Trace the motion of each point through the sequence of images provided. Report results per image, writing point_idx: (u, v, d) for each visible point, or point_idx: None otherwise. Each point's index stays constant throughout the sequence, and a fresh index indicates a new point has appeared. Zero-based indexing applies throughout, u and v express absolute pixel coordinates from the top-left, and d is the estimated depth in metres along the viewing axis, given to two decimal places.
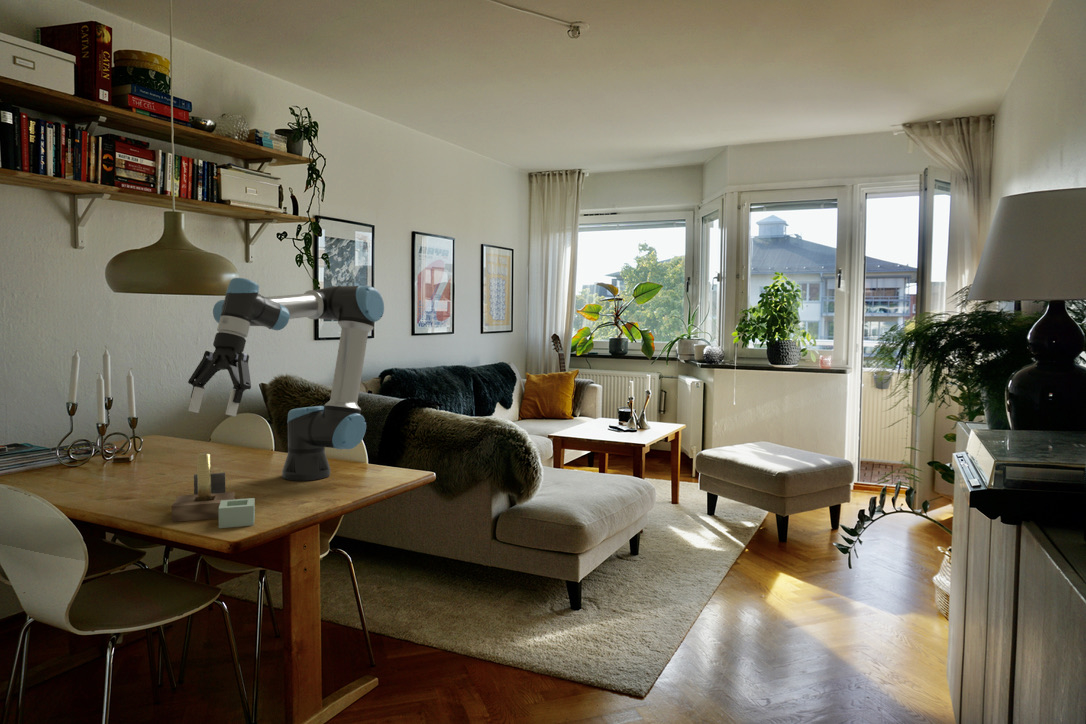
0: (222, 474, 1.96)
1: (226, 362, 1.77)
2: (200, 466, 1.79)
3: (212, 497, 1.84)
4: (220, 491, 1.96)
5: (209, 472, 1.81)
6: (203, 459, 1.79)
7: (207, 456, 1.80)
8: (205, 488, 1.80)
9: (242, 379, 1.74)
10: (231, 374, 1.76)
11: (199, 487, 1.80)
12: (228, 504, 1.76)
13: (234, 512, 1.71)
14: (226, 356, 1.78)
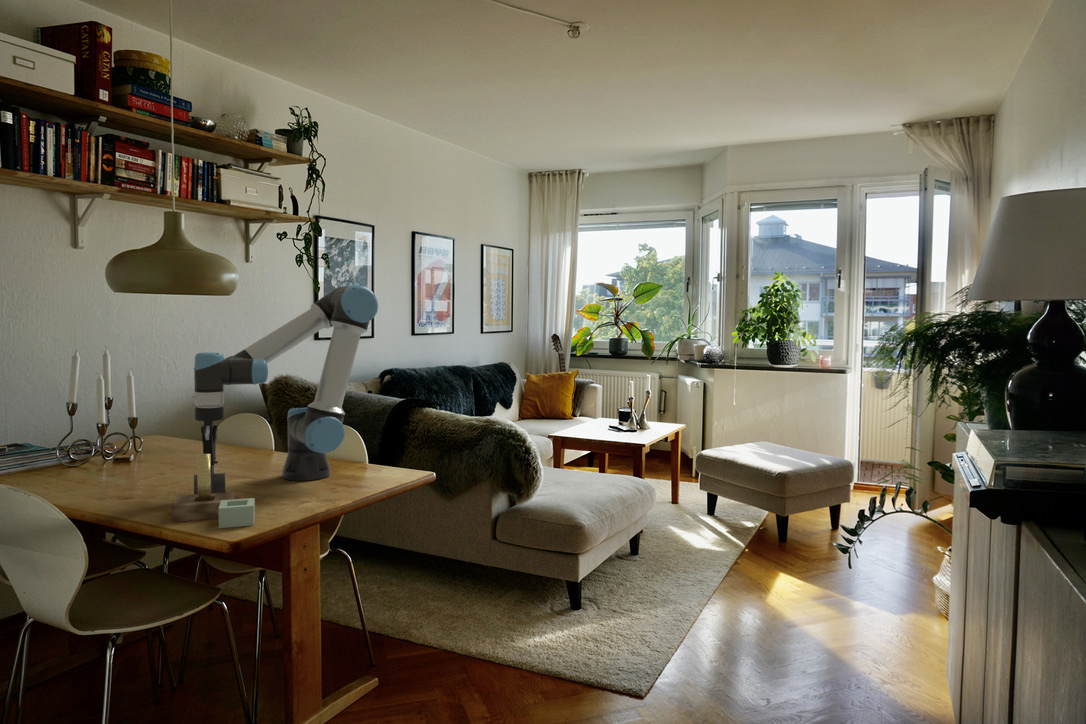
0: (222, 474, 1.96)
1: None
2: (200, 466, 1.79)
3: (212, 497, 1.84)
4: (220, 491, 1.96)
5: (209, 472, 1.81)
6: (203, 459, 1.79)
7: (207, 456, 1.80)
8: (205, 488, 1.80)
9: None
10: None
11: (199, 487, 1.80)
12: (228, 504, 1.76)
13: (234, 512, 1.71)
14: (202, 430, 1.95)
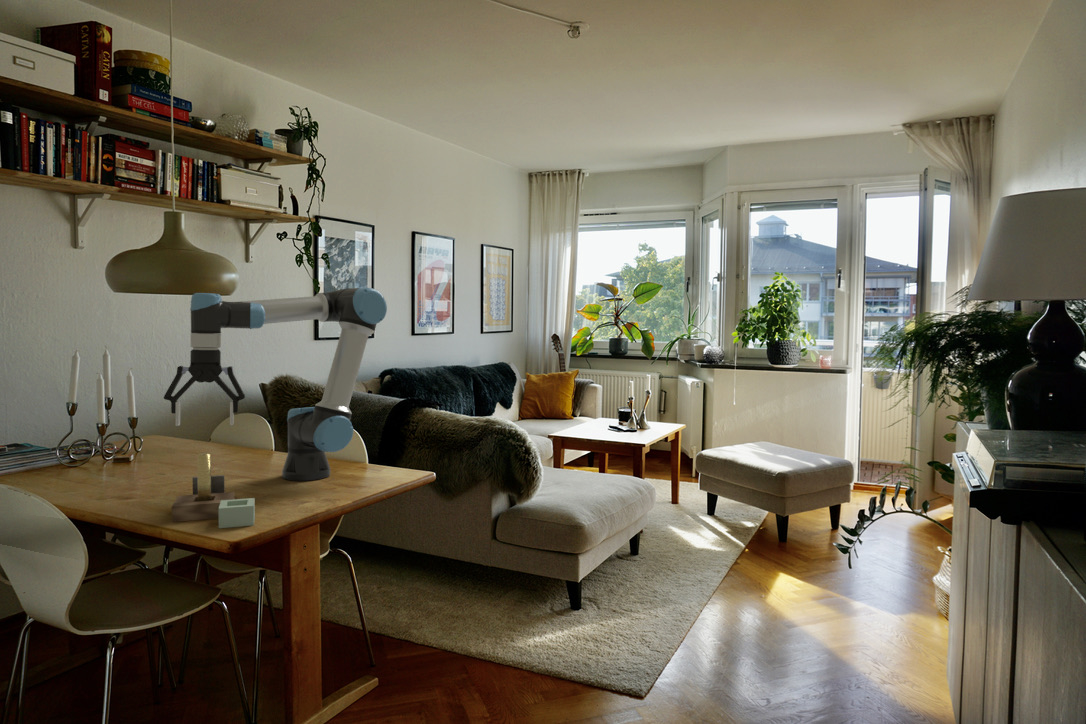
0: (221, 477, 1.93)
1: None
2: (200, 466, 1.79)
3: (212, 497, 1.84)
4: None
5: (209, 472, 1.81)
6: (203, 459, 1.79)
7: (207, 456, 1.80)
8: (205, 488, 1.80)
9: None
10: None
11: (199, 487, 1.80)
12: (228, 504, 1.76)
13: (234, 512, 1.71)
14: None
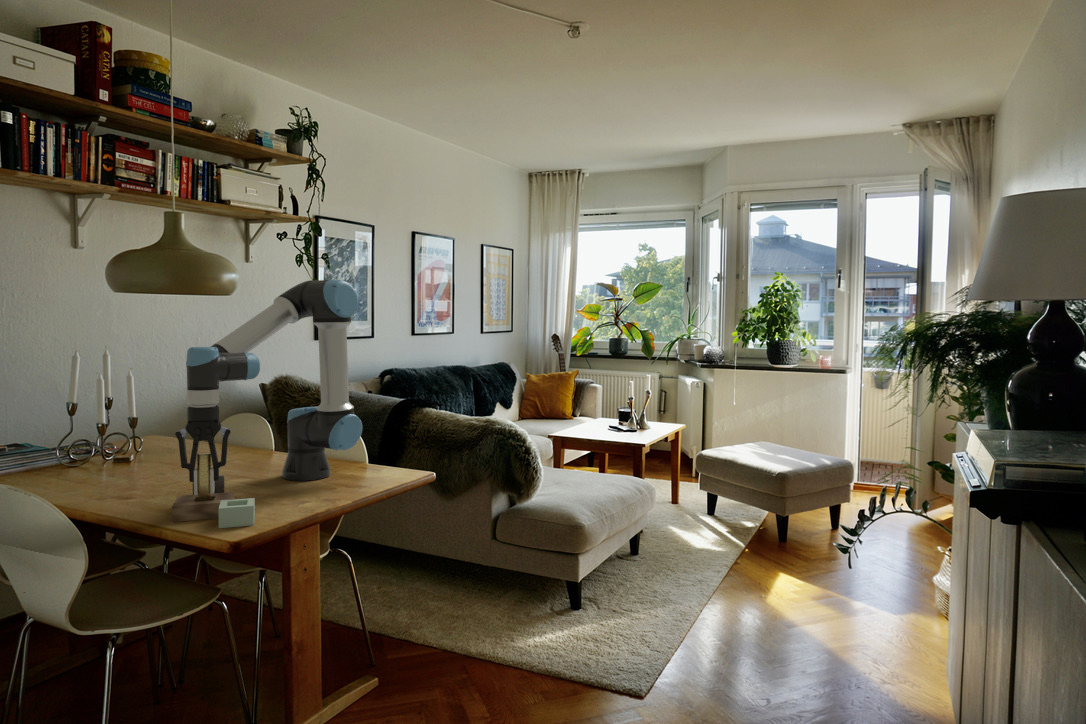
0: (221, 477, 1.93)
1: None
2: (200, 466, 1.79)
3: (212, 497, 1.84)
4: None
5: (209, 472, 1.81)
6: (203, 459, 1.79)
7: (207, 456, 1.80)
8: (205, 488, 1.80)
9: None
10: None
11: (199, 487, 1.80)
12: (228, 504, 1.76)
13: (234, 512, 1.71)
14: None
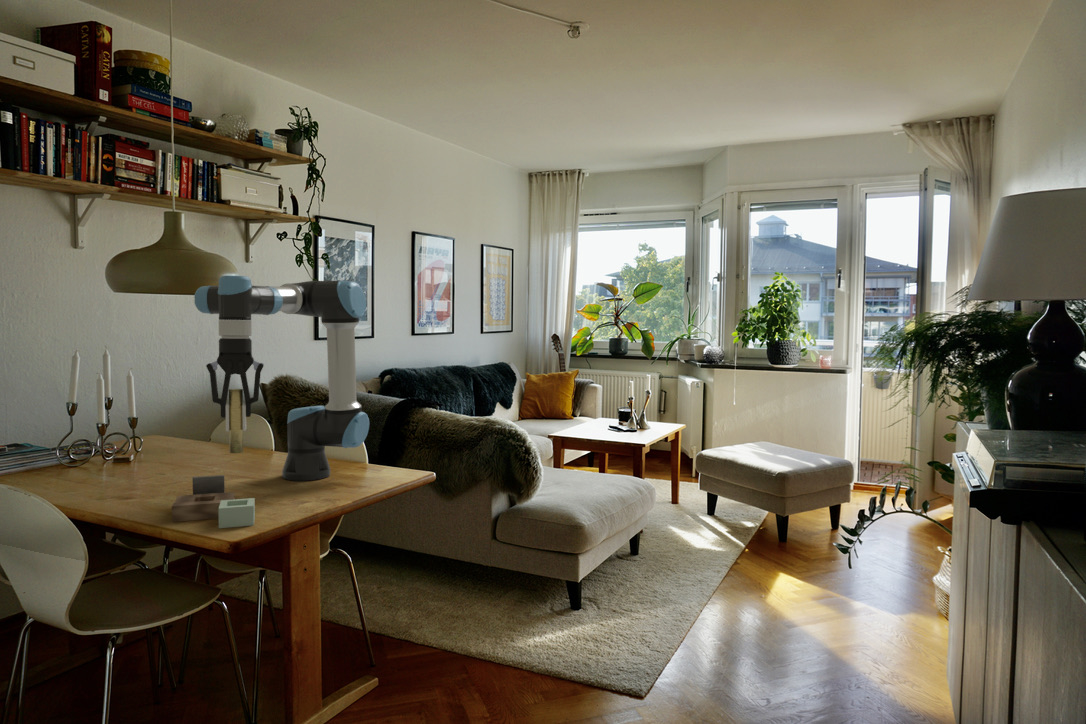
0: (221, 477, 1.93)
1: None
2: (232, 401, 1.71)
3: (212, 497, 1.84)
4: None
5: (241, 408, 1.72)
6: (235, 394, 1.71)
7: (239, 391, 1.72)
8: (237, 425, 1.72)
9: None
10: None
11: (231, 423, 1.72)
12: (228, 504, 1.76)
13: (234, 512, 1.71)
14: None
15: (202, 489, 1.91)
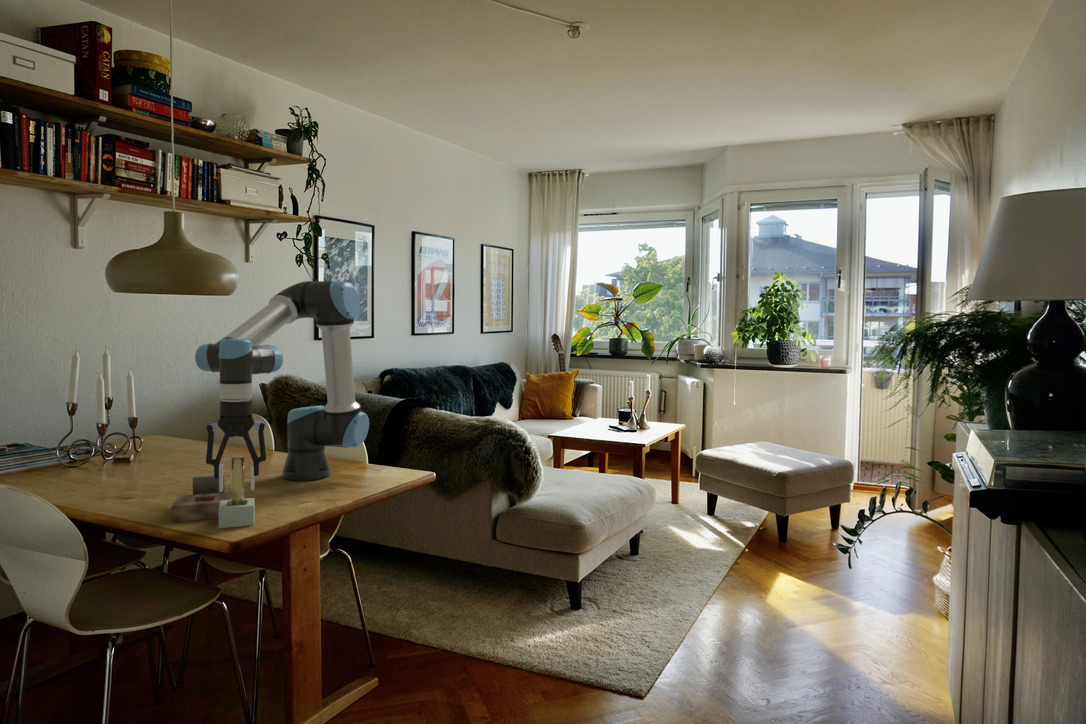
0: None
1: None
2: (234, 469, 1.72)
3: (212, 497, 1.84)
4: None
5: (243, 475, 1.74)
6: (237, 462, 1.72)
7: (241, 459, 1.73)
8: (239, 493, 1.73)
9: None
10: None
11: (232, 491, 1.73)
12: (228, 504, 1.76)
13: (234, 512, 1.71)
14: None
15: (202, 489, 1.91)
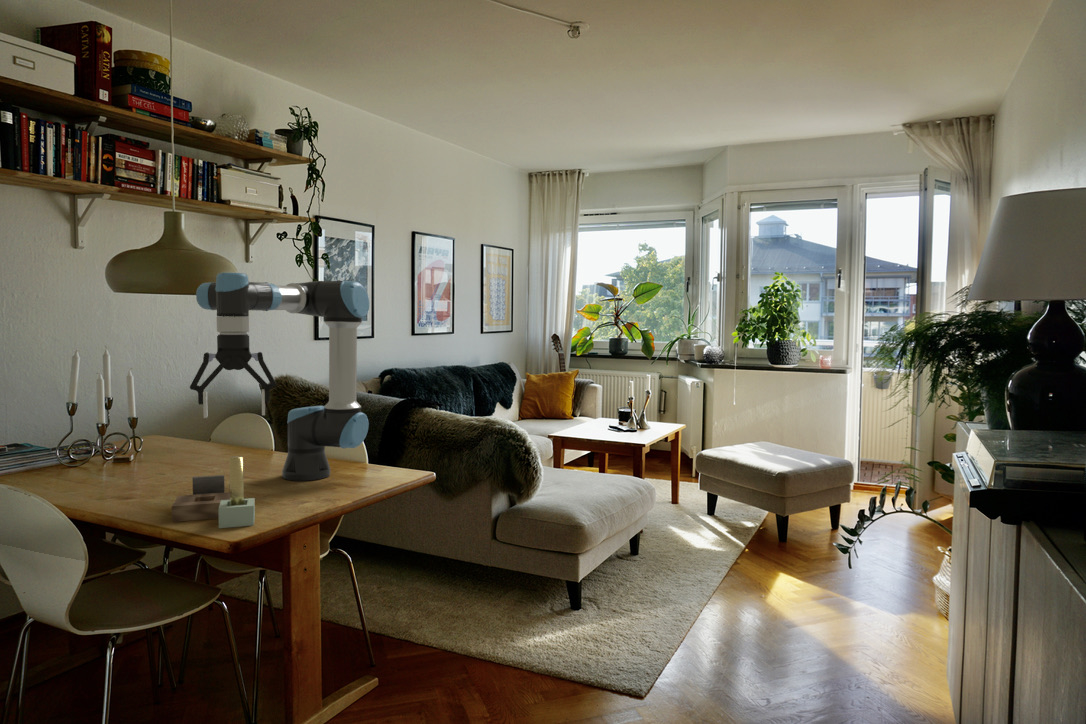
0: (221, 477, 1.93)
1: None
2: (233, 470, 1.72)
3: (212, 497, 1.84)
4: None
5: (241, 476, 1.73)
6: (236, 463, 1.72)
7: (240, 459, 1.73)
8: (238, 493, 1.73)
9: None
10: None
11: (232, 492, 1.73)
12: (228, 504, 1.76)
13: (234, 512, 1.71)
14: None
15: (202, 489, 1.91)
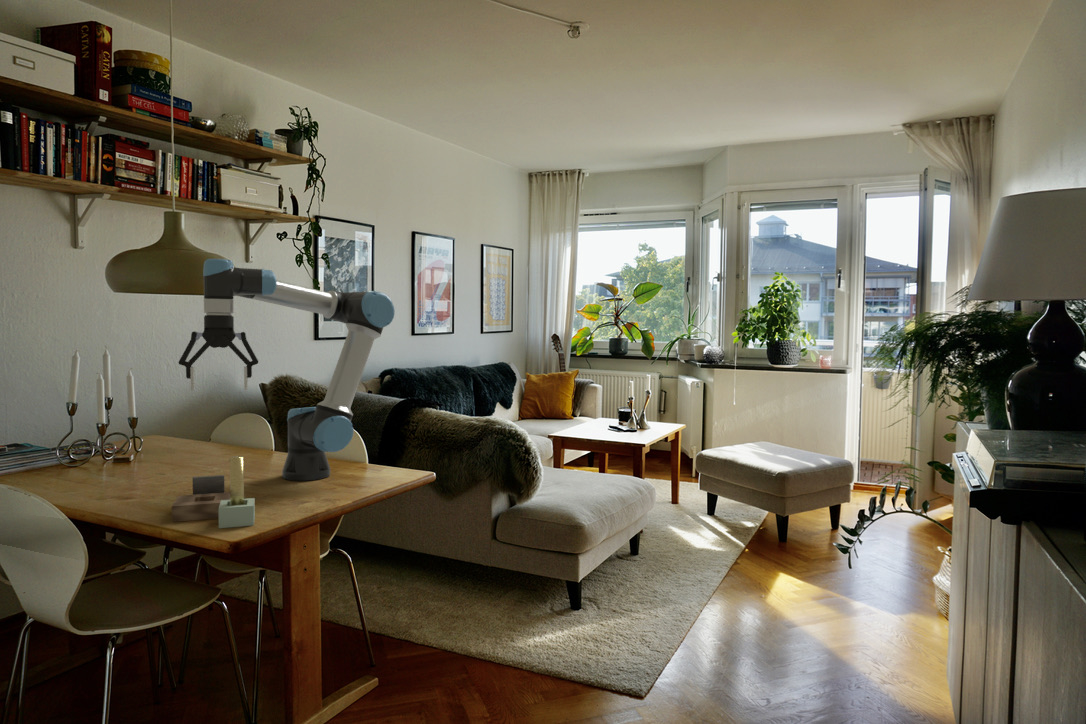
0: (221, 477, 1.93)
1: None
2: (233, 469, 1.72)
3: (212, 497, 1.84)
4: None
5: (242, 476, 1.74)
6: (236, 462, 1.72)
7: (240, 459, 1.73)
8: (238, 493, 1.73)
9: None
10: None
11: (232, 491, 1.73)
12: (228, 504, 1.76)
13: (234, 512, 1.71)
14: None
15: (202, 489, 1.91)
